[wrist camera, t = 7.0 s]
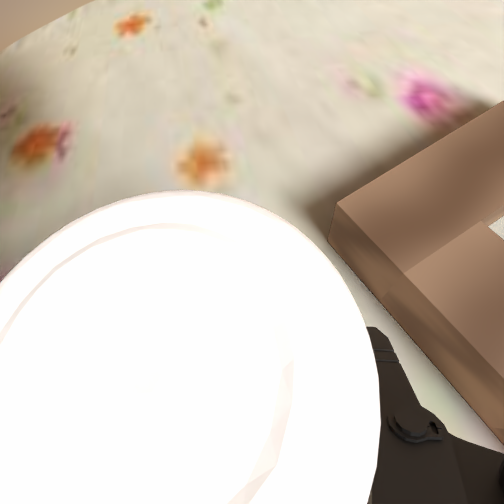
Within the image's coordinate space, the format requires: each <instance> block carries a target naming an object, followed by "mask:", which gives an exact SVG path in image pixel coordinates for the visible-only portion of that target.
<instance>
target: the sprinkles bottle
mask: <svg viewBox="0 0 504 504" xmlns="http://www.w3.org/2000/svg"><path fill="white" fill-rule="evenodd" d="M380 426H381V419H380V399H379V378H378V372H377V367H376V362H375V357H374V353H373V349H372V345H371V341H370V337H369V334H368V331H367V329H366V326H365V323H364V320H363V317H362V315H361V313H360V311H359V308H358V306H357V304H356V302H355V300H354V298H353V296H352V294H351V292H350V291H349V289H348V287H347V285H346V283H345V282H344V280H343V278H342V277H341V275H340V274H339V272H338V271H337V269H336V268H335V267H334V266H333V264H332V263H331V262H330V260H329V259H328V258H327V257H326V256H325V255H324V254H323V252H322V251H321V250H320V249H319V248H318V247H317V246H316V245H315V244H314V243H313V242H312V241H311V240H310V239H309V238H308V237H306V236H305V235H304V234H303V233H302V232H301V231H299V230H298V229H297V228H296V227H294V226H293V225H292V224H291V223H289V222H288V221H286V220H284V219H283V218H281V217H280V216H278V215H276V214H274V213H272V212H271V211H269V210H267V209H265V208H263V207H260V206H258V205H256V204H253V203H251V202H248V201H246V200H243V199H239V198H236V197H232V196H229V195H226V194H221V193H214V192H205V191H194V190H170V191H159V192H152V193H146V194H141V195H137V196H133V197H129V198H126V199H122V200H119V201H116V202H114V203H111V204H108V205H106V206H103V207H101V208H98V209H96V210H94V211H92V212H90V213H88V214H86V215H84V216H82V217H80V218H78V219H76V220H74V221H72V222H71V223H69V224H67V225H65V226H64V227H62V228H61V229H59V230H58V231H56V232H55V233H53V234H52V235H50V236H49V237H48V238H46V239H45V240H44V241H43V242H41V243H40V244H39V245H38V246H37V247H35V248H34V249H33V250H32V251H31V252H29V253H28V254H27V255H26V256H25V257H24V258H23V259H22V260H21V261H20V262H19V263H18V264H17V265H16V266H15V267H14V268H13V269H12V270H11V271H10V272H9V273H8V274H7V275H6V276H5V277H4V279H3V280H2V281H1V282H0V504H367V502H368V498H369V494H370V491H371V487H372V483H373V479H374V475H375V471H376V467H377V457H378V447H379V437H380Z"/></svg>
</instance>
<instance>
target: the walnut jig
mask: <svg viewBox="0 0 504 504" xmlns="http://www.w3.org/2000/svg"><path fill="white" fill-rule="evenodd" d="M502 216H504V101H502V102H500V103H499V104H497V105H496V106H494V107H492V108H491V109H489V110H487V111H486V112H484V113H482V114H481V115H479V116H478V117H476V118H474V119H473V120H471V121H469V122H468V123H466V124H464V125H463V126H461V127H459V128H458V129H456V130H455V131H453V132H451V133H450V134H448V135H446V136H445V137H443V138H441V139H440V140H438V141H437V142H435V143H433V144H432V145H430V146H428V147H427V148H425V149H423V150H422V151H420V152H419V153H417V154H415V155H414V156H412V157H410V158H409V159H407V160H405V161H404V162H402V163H401V164H399V165H397V166H396V167H394V168H392V169H391V170H389V171H387V172H386V173H384V174H382V175H381V176H379V177H378V178H376V179H374V180H373V181H371V182H369V183H368V184H366V185H364V186H363V187H361V188H360V189H358V190H356V191H355V192H353V193H351V194H350V195H348V196H346V197H345V198H343V199H342V200H340V201H338V202H337V203H336V206H335V210H334V214H333V219H332V223H331V227H330V232H329V236H328V240H327V241H328V242H329V244H330V245H331V246H332V247H333V248H334V249H335V251H336V252H337V253H338V254H339V255H340V256H341V257H342V259H343V260H344V261H345V262H346V263H347V264H348V266H349V267H350V268H351V269H352V270H353V271H354V272H355V274H356V275H357V276H358V277H359V278H360V279H361V280H362V282H363V283H364V284H365V285H366V286H367V287H368V289H369V290H370V291H371V292H372V293H373V294H374V295H375V297H376V298H377V299H378V300H379V301H380V302H381V304H382V305H383V306H384V307H385V308H386V309H387V310H388V312H389V313H390V314H391V315H392V316H393V317H394V319H395V320H396V321H397V322H398V323H399V324H400V325H401V327H402V328H403V329H404V330H405V331H406V332H407V334H408V335H409V336H410V337H411V338H412V339H413V340H414V342H415V343H416V344H417V345H418V346H419V347H420V349H421V350H422V351H423V352H424V353H425V354H426V355H427V357H428V358H429V359H430V360H431V361H432V362H433V364H434V365H435V366H436V367H437V368H438V369H439V370H440V372H441V373H442V374H443V375H444V376H445V377H446V378H447V380H448V381H449V382H450V383H451V384H452V385H453V387H454V388H455V389H456V390H457V391H458V392H459V393H460V395H461V396H462V397H463V398H464V399H465V400H466V402H467V403H468V404H469V405H470V406H471V407H472V408H473V410H474V411H475V412H476V413H477V414H478V415H479V417H480V418H481V419H482V420H483V421H484V422H485V423H486V425H487V426H488V427H489V428H490V429H491V430H492V432H493V433H494V434H495V435H496V436H497V437H498V438H499V440H500V441H501V442H502V443H503V444H504V240H503V239H502V238H501V237H500V236H498V235H497V234H496V233H495V232H494V231H492V230H491V229H490V228H489V227H488V226H489V225H491V224H492V223H494V222H495V221H497V220H498V219H500V218H501V217H502Z"/></svg>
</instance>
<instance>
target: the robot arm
mask: <svg viewBox="0 0 504 504" xmlns="http://www.w3.org/2000/svg"><path fill="white" fill-rule="evenodd" d="M366 329H367V331H368V334H369V337H370V341H371V345H372V349H373V353H374V357H375V362H376V367H377V372H378V378H379V399H380V419H381V426H380V437H379V447H378V457H377V467H376V471H375V475H374V479H373V483H372V487H371V491H370V494H369V498H368V502H367V504H504V454H503V453H500V452H497V451H494V450H491V449H488V448H485V447H482V446H479V445H476V444H473V443H470V442H467V441H465V440H462V439H460V438H457V437H455V436H453V435H452V434H450V433H448V431H447V429H446V427H445V425H444V424H443V423H442V422H441V421H440V420H439V419H438V418H437V417H436V416H435V415H434V414H433V413H432V412H430V411H428V410H427V409H425V408H424V407H422V406H421V405H420V403H419V401H418V399H417V397H416V395H415V393H414V391H413V389H412V387H411V385H410V383H409V380H408V378H407V376H406V374H405V372H404V370H403V368H402V366H401V364H400V363H399V360H398V358H397V356H396V354H395V353H394V349H393V347H392V345H391V343H390V341H389V339H388V337H386V336H385V335H384V334H383V333H382V332H381V331H380V330H378V329H377V328H376V327H366Z"/></svg>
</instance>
